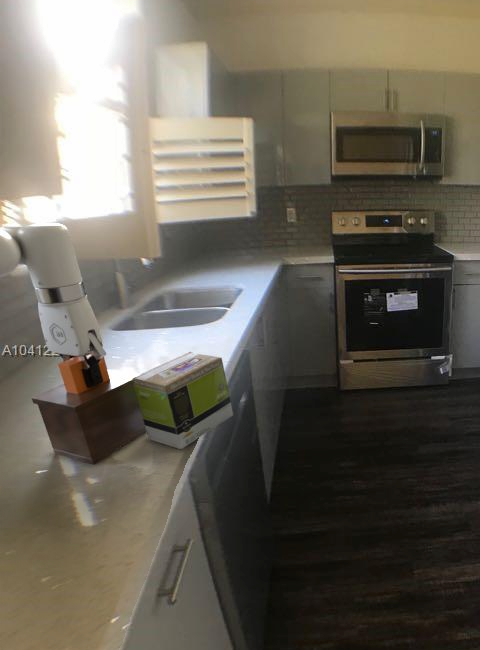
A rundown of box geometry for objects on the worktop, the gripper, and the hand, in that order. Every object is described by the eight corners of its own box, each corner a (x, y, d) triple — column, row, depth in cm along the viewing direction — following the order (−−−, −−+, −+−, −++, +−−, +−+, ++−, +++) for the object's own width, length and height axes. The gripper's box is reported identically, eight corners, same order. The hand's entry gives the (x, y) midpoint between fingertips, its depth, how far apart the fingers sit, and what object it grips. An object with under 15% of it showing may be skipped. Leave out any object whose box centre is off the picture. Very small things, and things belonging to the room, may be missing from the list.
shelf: (51, 454, 91) (31, 397, 87) (115, 419, 104) (101, 367, 99) (93, 466, 87) (74, 407, 83) (154, 427, 100) (141, 374, 95)
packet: (66, 392, 89) (57, 363, 86) (99, 377, 95) (91, 350, 92) (78, 394, 87) (69, 365, 85) (110, 379, 94) (102, 352, 91)
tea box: (202, 408, 108) (190, 349, 102) (234, 416, 104) (224, 356, 98) (146, 440, 95) (130, 376, 90) (180, 451, 91) (165, 384, 86)
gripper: (11, 295, 84) (41, 386, 90) (73, 302, 78) (101, 398, 85) (51, 286, 90) (77, 371, 97) (112, 291, 84) (134, 381, 91)
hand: (88, 382), depth 91 cm, fingers closed on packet, 3 cm apart
